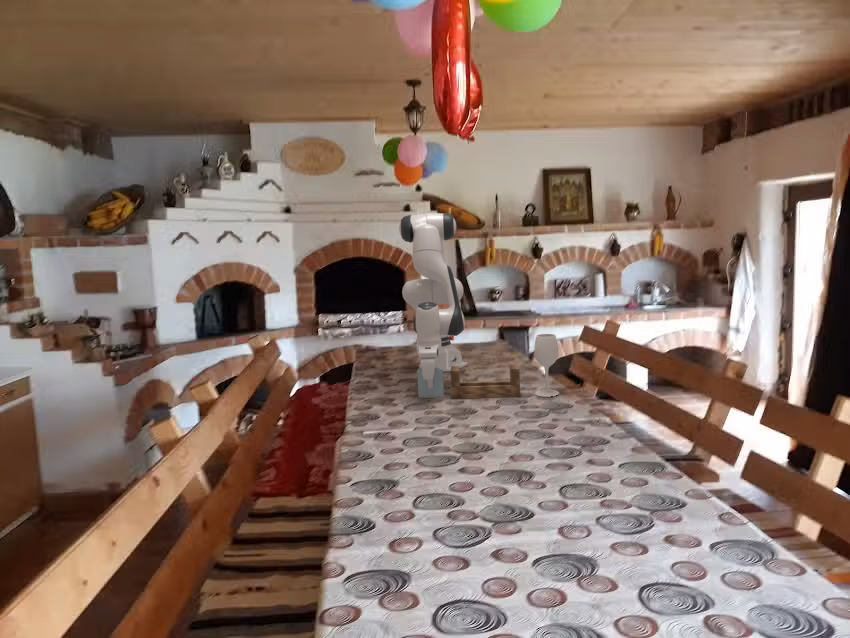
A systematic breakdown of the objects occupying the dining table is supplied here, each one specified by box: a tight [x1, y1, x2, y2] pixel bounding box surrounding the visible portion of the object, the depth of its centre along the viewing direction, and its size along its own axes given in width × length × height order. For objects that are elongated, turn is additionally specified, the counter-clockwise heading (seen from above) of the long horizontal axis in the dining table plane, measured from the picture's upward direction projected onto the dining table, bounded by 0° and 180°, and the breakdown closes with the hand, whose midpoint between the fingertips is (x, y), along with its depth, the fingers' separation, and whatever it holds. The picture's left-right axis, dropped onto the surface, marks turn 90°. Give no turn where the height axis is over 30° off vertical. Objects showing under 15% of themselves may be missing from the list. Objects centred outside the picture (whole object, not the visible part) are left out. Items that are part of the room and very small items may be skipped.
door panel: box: [416, 367, 445, 399], centre depth 235 cm, size 9×4×10 cm, turn 86°
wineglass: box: [534, 333, 560, 398], centre depth 229 cm, size 9×9×21 cm
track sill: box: [449, 363, 521, 400], centre depth 233 cm, size 24×8×10 cm, turn 86°
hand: (430, 386), depth 235 cm, fingers closed on door panel, 3 cm apart
